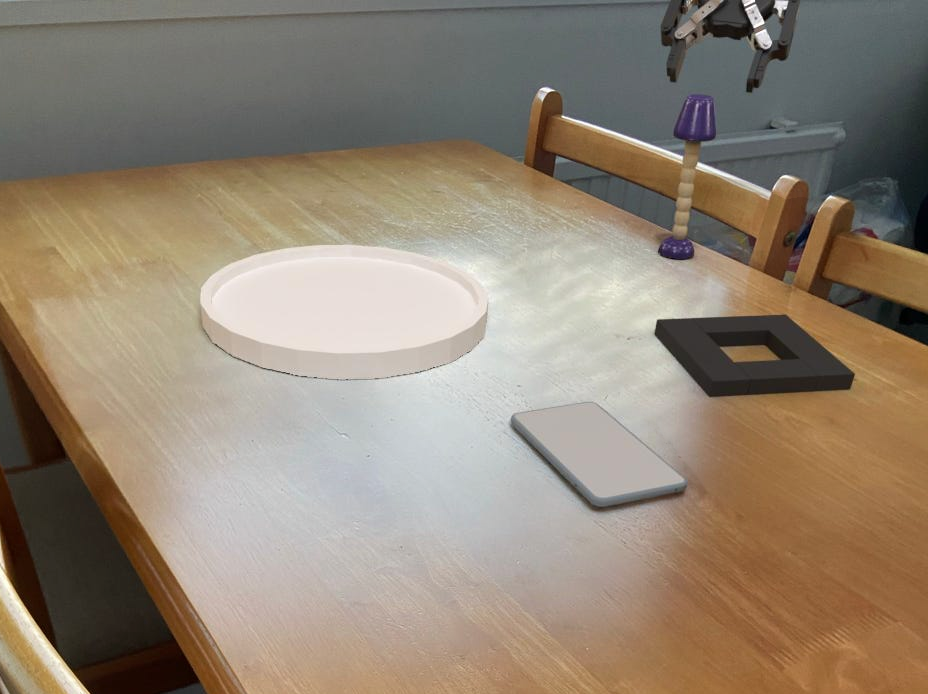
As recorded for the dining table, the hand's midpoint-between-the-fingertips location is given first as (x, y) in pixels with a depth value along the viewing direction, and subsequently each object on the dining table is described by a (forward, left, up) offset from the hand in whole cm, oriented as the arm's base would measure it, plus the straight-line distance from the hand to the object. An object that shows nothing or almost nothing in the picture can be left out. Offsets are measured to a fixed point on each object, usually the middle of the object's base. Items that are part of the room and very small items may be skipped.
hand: (710, 82), depth 111 cm
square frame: (+8, +36, -17) cm, 41 cm away
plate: (+43, +19, -18) cm, 50 cm away
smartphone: (+27, +49, -17) cm, 59 cm away
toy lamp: (+2, +3, -18) cm, 18 cm away
